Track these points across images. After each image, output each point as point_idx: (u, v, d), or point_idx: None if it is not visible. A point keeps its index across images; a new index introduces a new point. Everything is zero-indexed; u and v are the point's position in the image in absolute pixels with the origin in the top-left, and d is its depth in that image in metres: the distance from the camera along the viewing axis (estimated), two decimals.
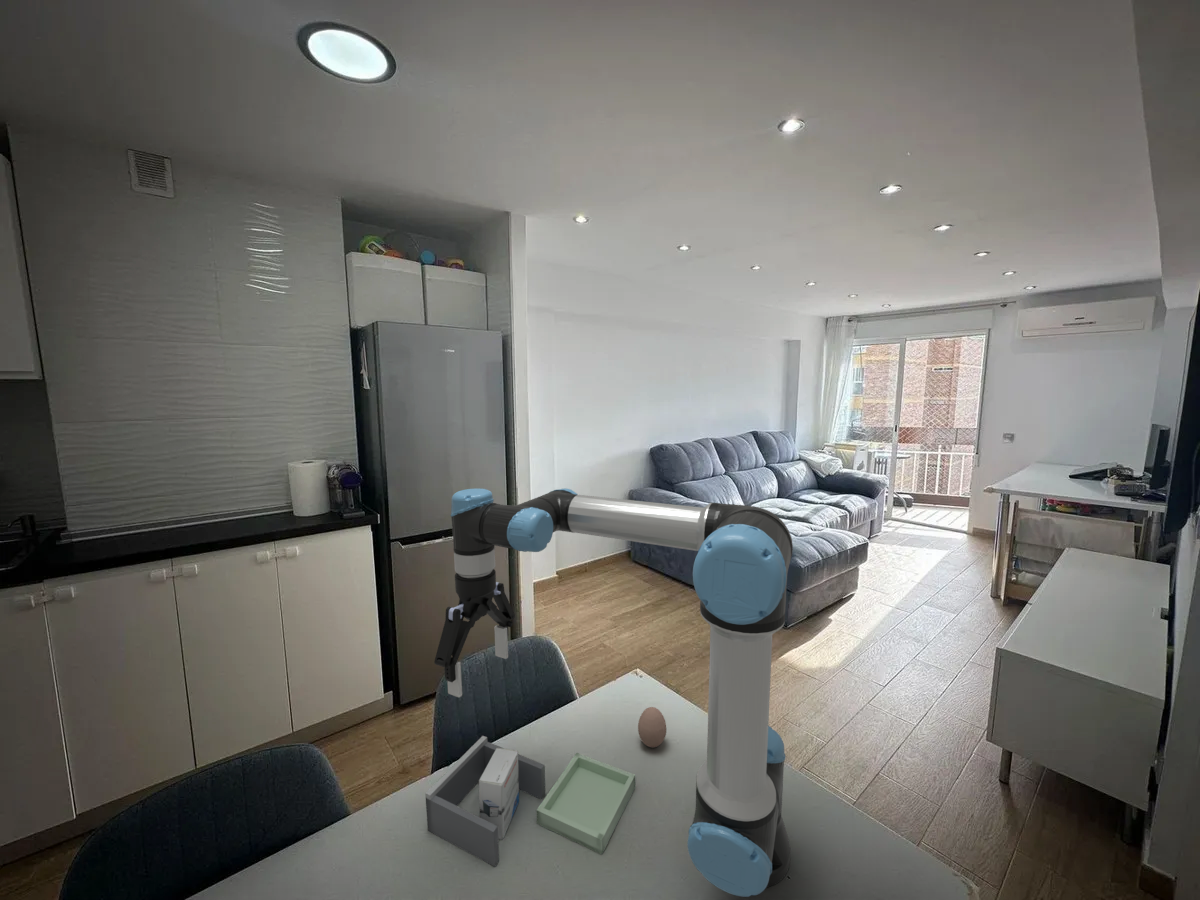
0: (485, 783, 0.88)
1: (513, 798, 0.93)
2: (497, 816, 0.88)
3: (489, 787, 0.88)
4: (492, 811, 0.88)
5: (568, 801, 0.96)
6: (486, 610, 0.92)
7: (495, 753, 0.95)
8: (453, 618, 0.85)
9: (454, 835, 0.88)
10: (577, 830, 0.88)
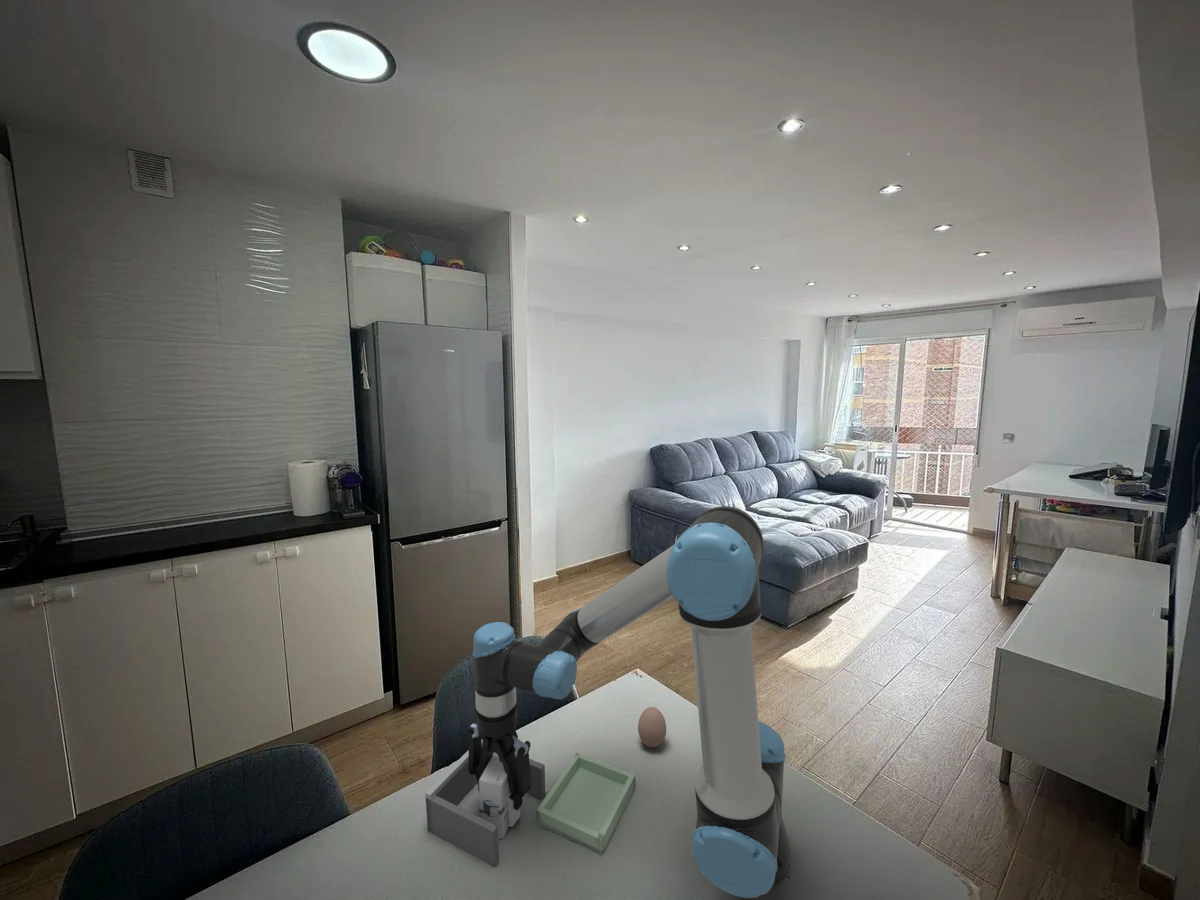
0: (485, 783, 0.88)
1: None
2: (497, 816, 0.88)
3: (489, 787, 0.88)
4: (492, 811, 0.88)
5: (568, 801, 0.96)
6: None
7: (495, 753, 0.95)
8: None
9: (454, 835, 0.88)
10: (577, 830, 0.88)
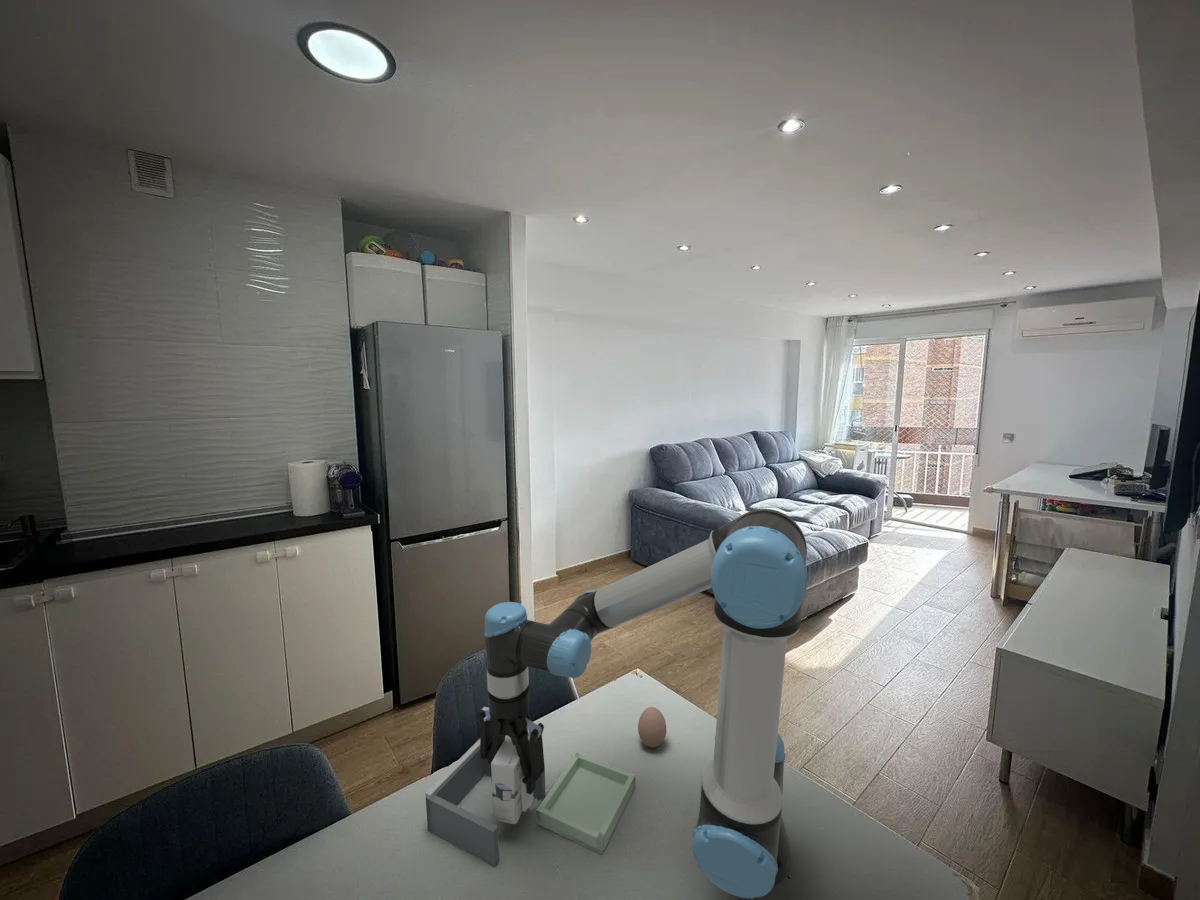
0: (497, 766, 0.86)
1: None
2: (510, 799, 0.86)
3: (501, 770, 0.86)
4: (505, 795, 0.86)
5: (568, 801, 0.96)
6: None
7: (507, 737, 0.93)
8: None
9: (454, 835, 0.88)
10: (577, 830, 0.88)
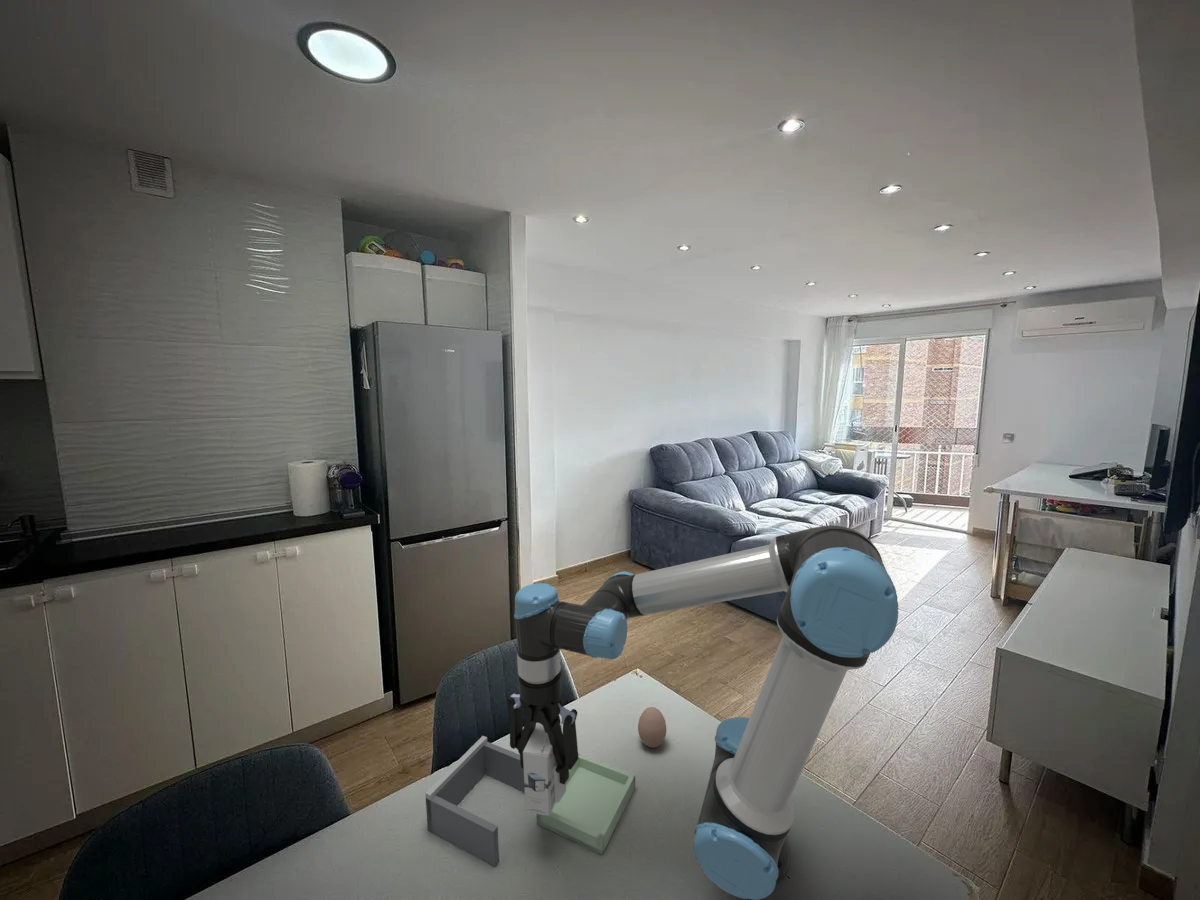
0: (530, 755, 0.82)
1: None
2: (543, 790, 0.82)
3: (534, 758, 0.82)
4: (538, 785, 0.82)
5: (568, 801, 0.96)
6: None
7: (537, 725, 0.89)
8: None
9: (454, 835, 0.88)
10: (577, 830, 0.88)
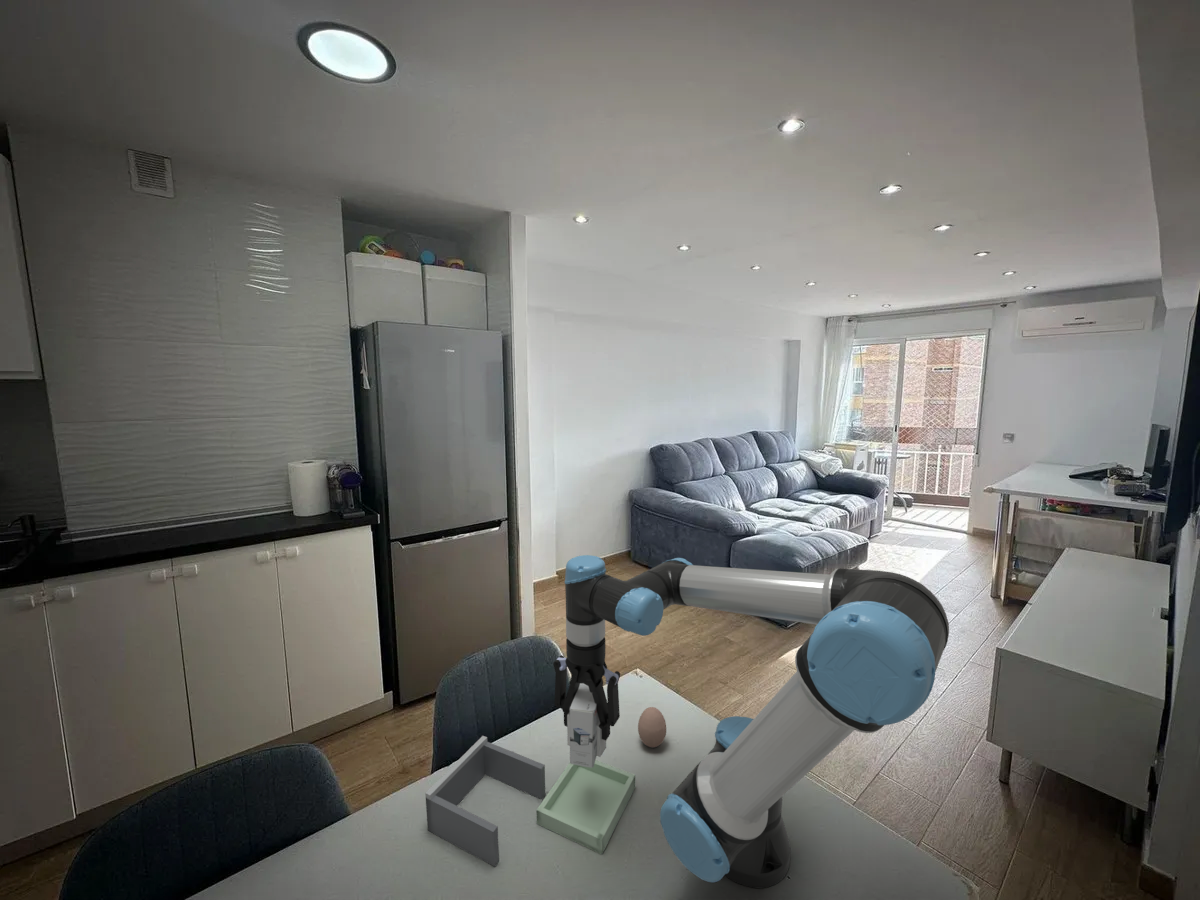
0: (576, 711, 0.89)
1: None
2: (588, 744, 0.89)
3: (580, 715, 0.89)
4: (583, 739, 0.90)
5: (568, 801, 0.96)
6: None
7: (580, 686, 0.96)
8: None
9: (454, 835, 0.88)
10: (577, 830, 0.88)
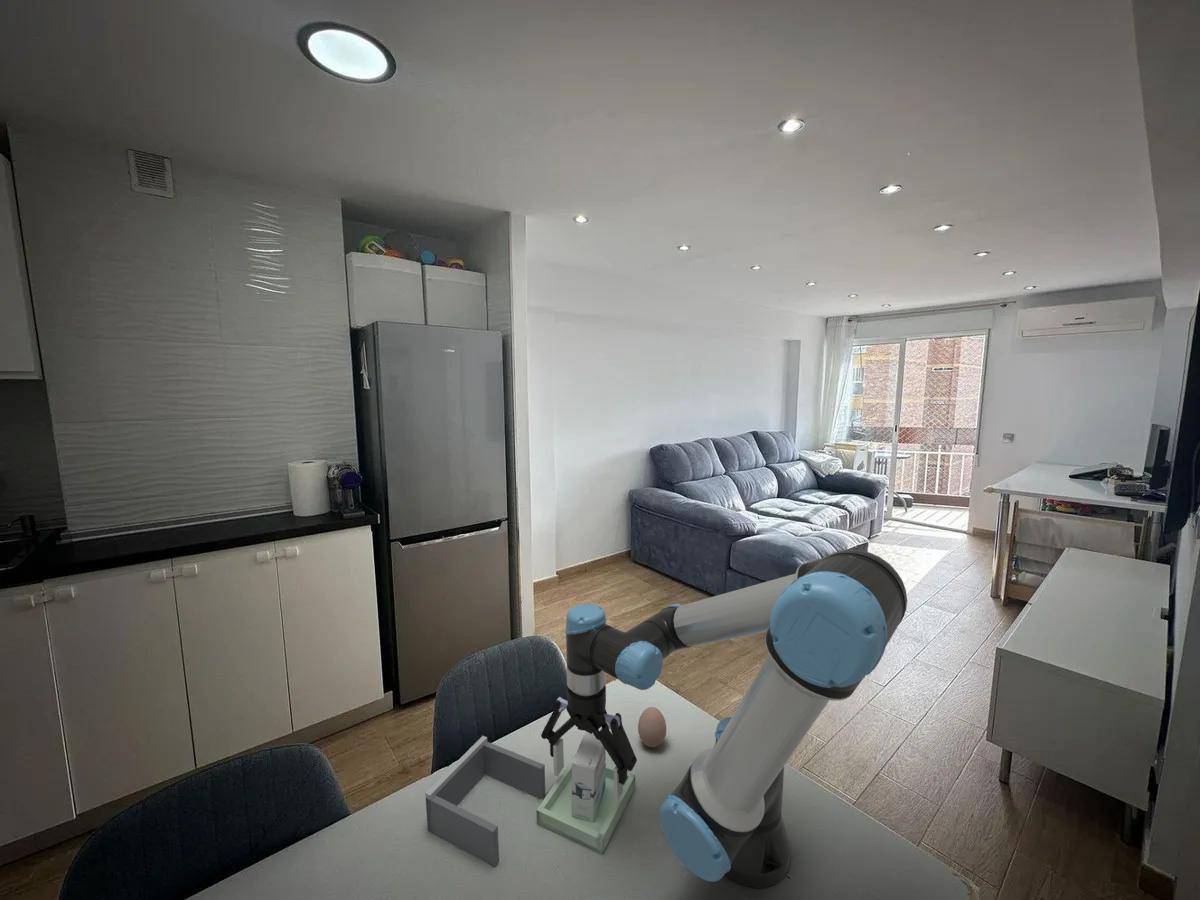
0: (578, 766, 0.91)
1: (602, 783, 0.96)
2: (589, 798, 0.91)
3: (582, 770, 0.90)
4: (584, 794, 0.91)
5: (568, 801, 0.96)
6: (590, 730, 0.92)
7: (584, 738, 0.97)
8: None
9: (454, 835, 0.88)
10: (577, 830, 0.88)
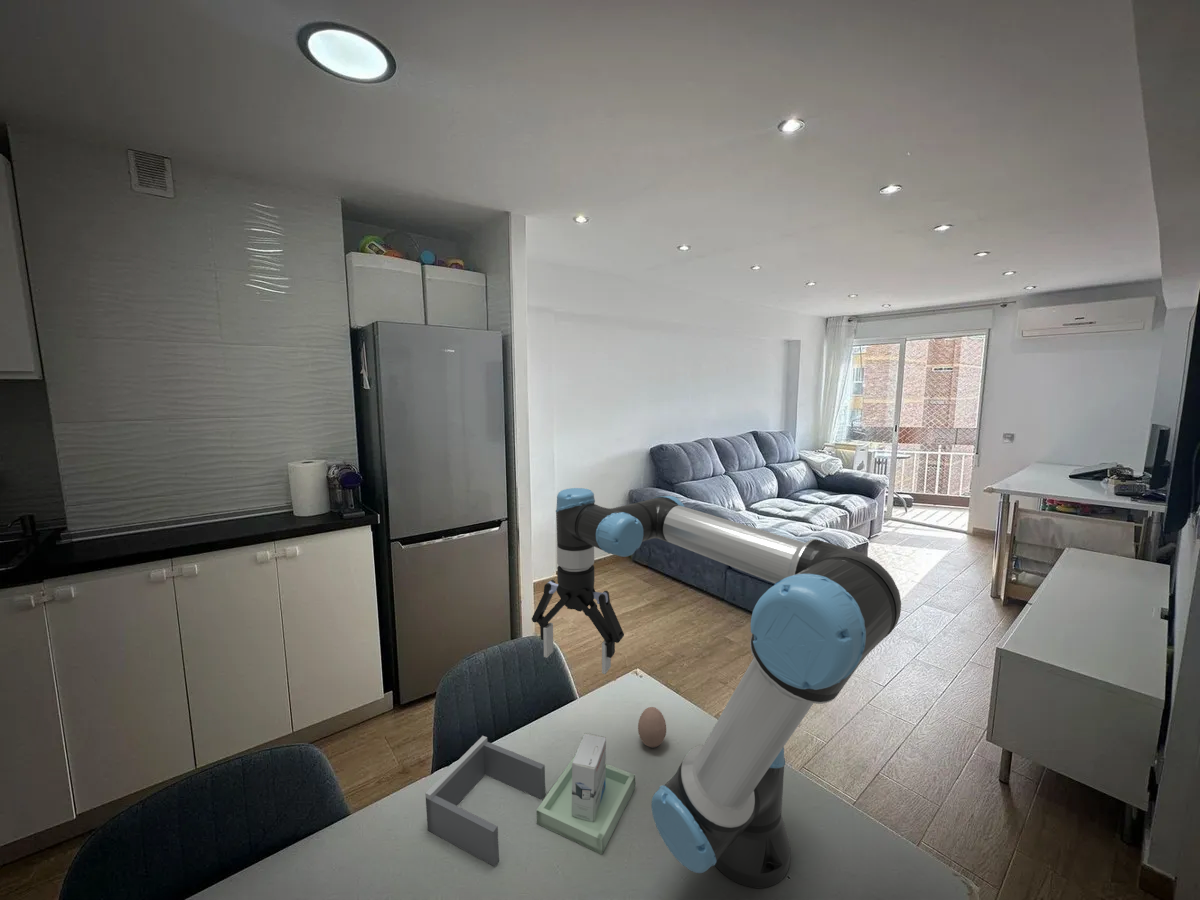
0: (578, 766, 0.91)
1: (602, 783, 0.96)
2: (589, 798, 0.91)
3: (582, 770, 0.90)
4: (584, 794, 0.91)
5: (568, 801, 0.96)
6: (579, 607, 0.96)
7: (584, 738, 0.97)
8: None
9: (454, 835, 0.88)
10: (577, 830, 0.88)
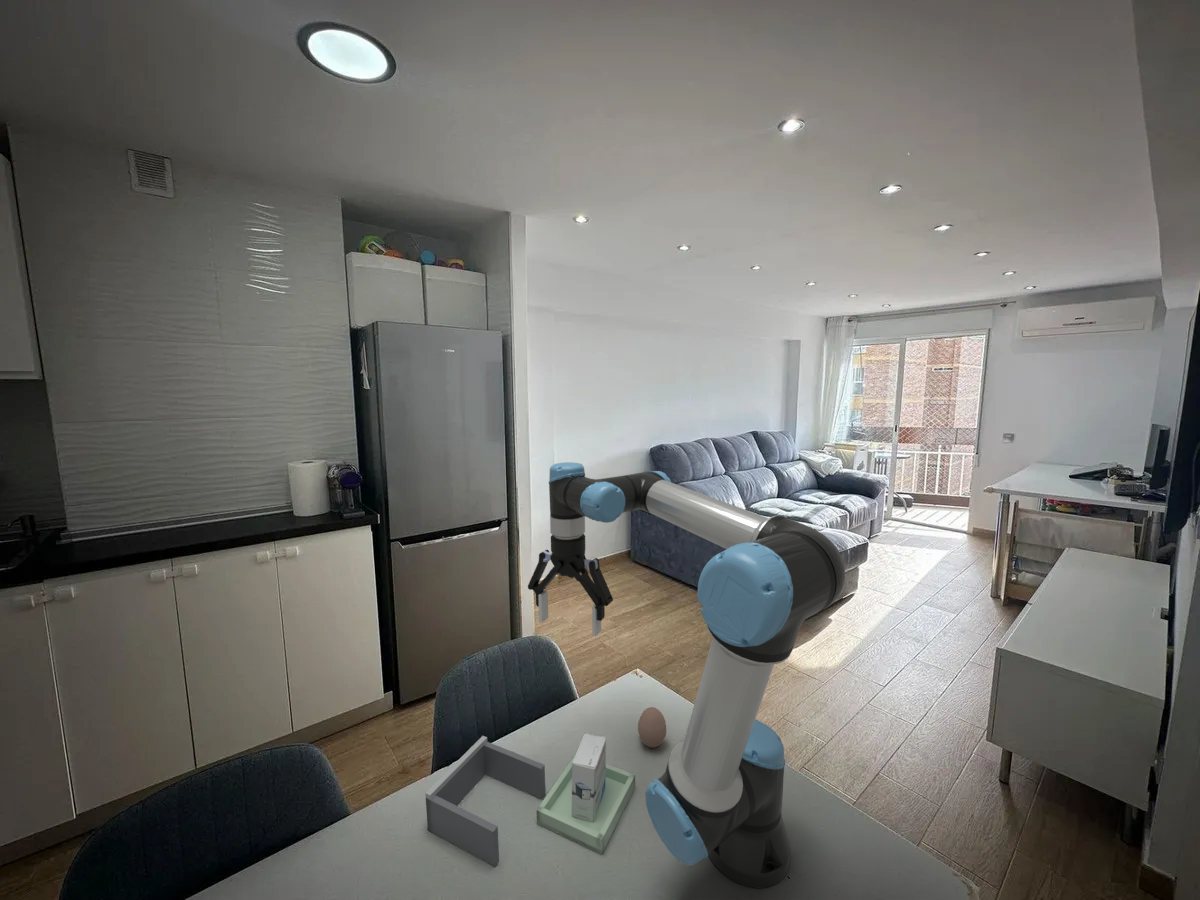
0: (578, 766, 0.91)
1: (602, 783, 0.96)
2: (589, 798, 0.91)
3: (582, 770, 0.90)
4: (584, 794, 0.91)
5: (568, 801, 0.96)
6: (571, 574, 1.03)
7: (584, 738, 0.97)
8: None
9: (454, 835, 0.88)
10: (577, 830, 0.88)
